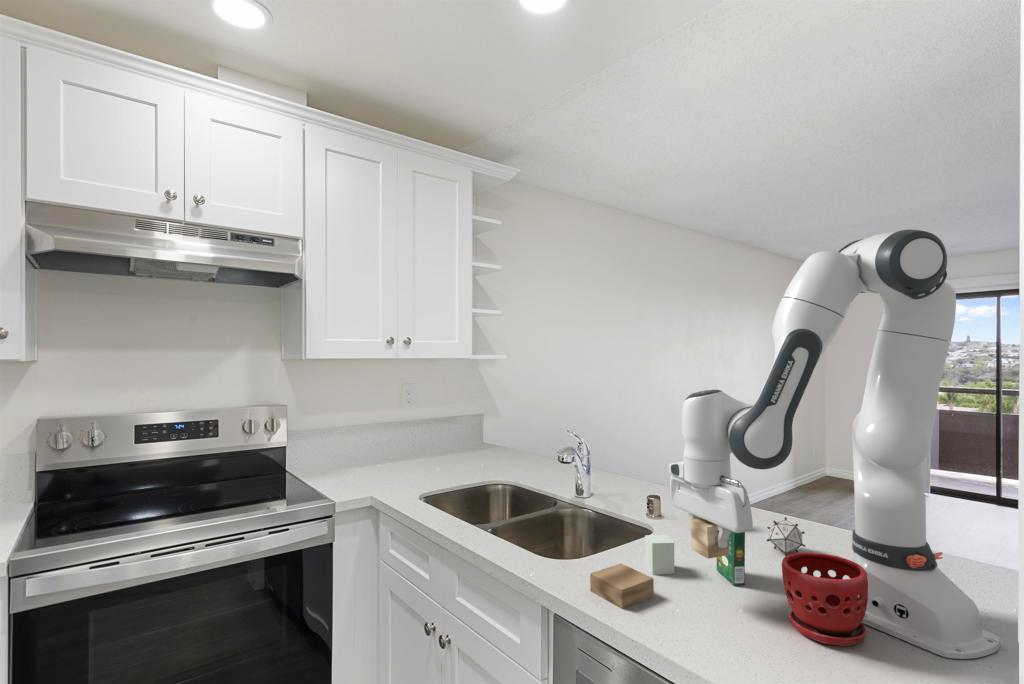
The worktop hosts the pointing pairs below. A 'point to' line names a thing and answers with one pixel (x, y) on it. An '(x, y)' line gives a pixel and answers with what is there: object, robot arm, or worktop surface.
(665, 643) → the worktop surface
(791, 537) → the game die
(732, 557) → the coffee box
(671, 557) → the sage block
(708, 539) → the oak block
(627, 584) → the walnut block
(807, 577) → the plant pot
